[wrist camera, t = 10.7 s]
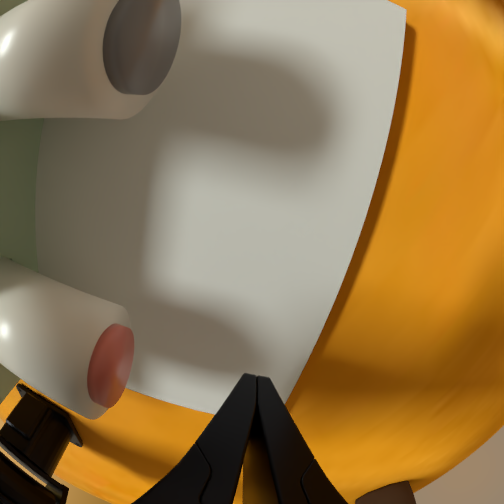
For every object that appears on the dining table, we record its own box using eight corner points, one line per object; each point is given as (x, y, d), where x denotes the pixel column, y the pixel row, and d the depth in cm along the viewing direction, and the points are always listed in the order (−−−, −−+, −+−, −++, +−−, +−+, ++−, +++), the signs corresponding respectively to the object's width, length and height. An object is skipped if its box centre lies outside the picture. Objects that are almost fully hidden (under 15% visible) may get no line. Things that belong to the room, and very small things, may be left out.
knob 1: (-31, 127, 6) (-86, 136, 2) (-14, 55, 5) (-65, 52, 1) (164, 127, 7) (73, 110, 3) (200, 9, 5) (157, -71, 2)
